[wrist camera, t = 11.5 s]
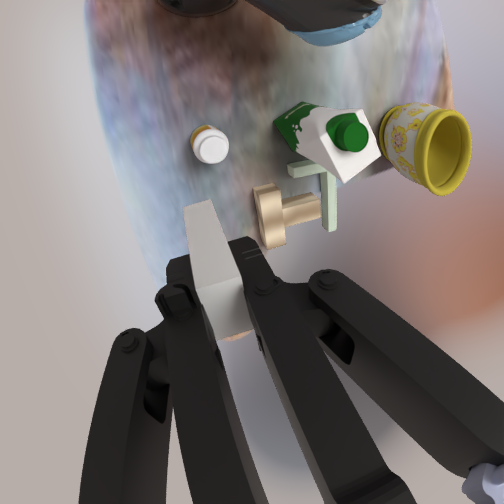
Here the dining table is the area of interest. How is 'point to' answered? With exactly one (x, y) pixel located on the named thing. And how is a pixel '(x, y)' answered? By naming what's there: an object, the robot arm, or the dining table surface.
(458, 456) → the robot arm
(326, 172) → the corner stop
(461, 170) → the flowerpot
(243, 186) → the dining table surface
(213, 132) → the supplement bottle
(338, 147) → the milk carton
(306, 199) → the t block
